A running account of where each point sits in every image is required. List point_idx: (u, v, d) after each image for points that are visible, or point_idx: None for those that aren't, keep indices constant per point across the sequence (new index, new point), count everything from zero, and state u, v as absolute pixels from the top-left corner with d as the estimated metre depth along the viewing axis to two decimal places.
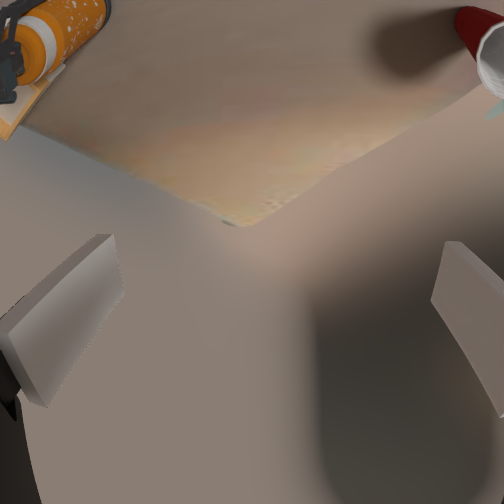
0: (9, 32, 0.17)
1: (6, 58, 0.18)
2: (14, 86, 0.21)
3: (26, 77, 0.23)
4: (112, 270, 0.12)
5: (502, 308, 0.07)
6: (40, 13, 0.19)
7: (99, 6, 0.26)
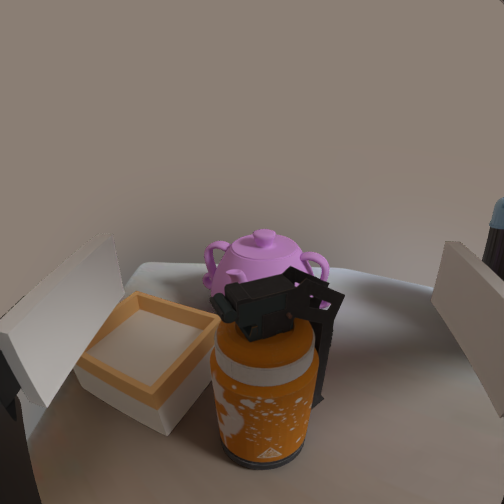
0: (313, 309, 0.24)
1: (287, 305, 0.23)
2: (241, 320, 0.22)
3: (241, 343, 0.22)
4: (112, 270, 0.12)
5: (502, 308, 0.07)
6: (316, 356, 0.25)
7: (294, 445, 0.26)
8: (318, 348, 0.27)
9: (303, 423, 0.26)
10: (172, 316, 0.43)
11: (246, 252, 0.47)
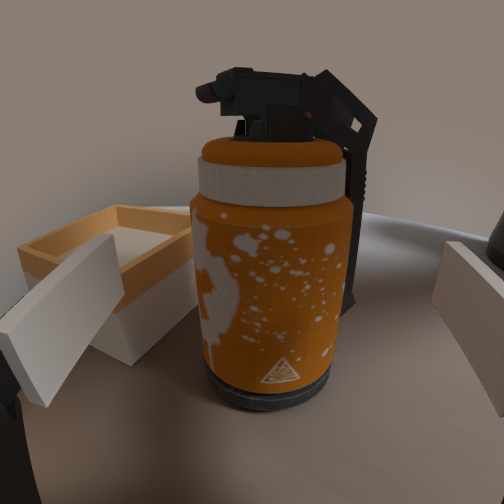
0: (339, 122, 0.16)
1: (303, 100, 0.15)
2: (239, 102, 0.14)
3: (238, 142, 0.14)
4: (112, 270, 0.12)
5: (502, 308, 0.07)
6: (348, 198, 0.17)
7: (319, 362, 0.18)
8: (348, 198, 0.19)
9: (334, 317, 0.18)
10: (155, 226, 0.35)
11: None
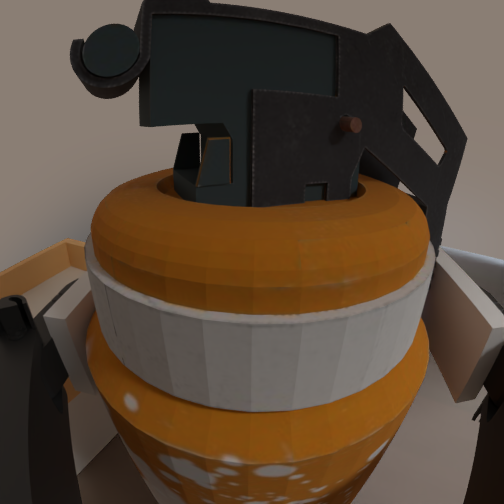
0: (411, 143, 0.07)
1: (340, 87, 0.06)
2: (162, 87, 0.05)
3: (158, 206, 0.05)
4: None
5: (455, 293, 0.08)
6: None
7: None
8: None
9: None
10: None
11: None
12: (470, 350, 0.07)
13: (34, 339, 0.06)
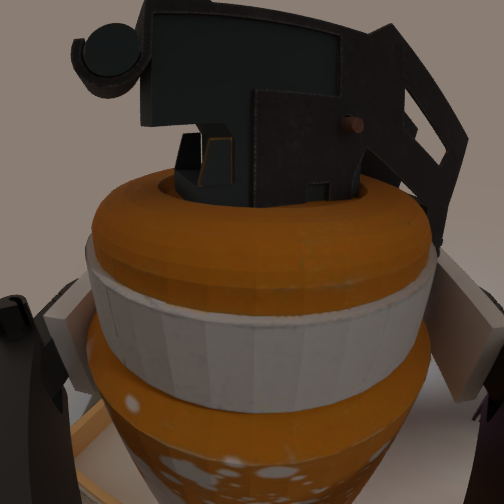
0: (413, 143, 0.07)
1: (342, 88, 0.06)
2: (163, 87, 0.04)
3: (160, 206, 0.05)
4: None
5: (455, 293, 0.08)
6: None
7: None
8: None
9: (359, 492, 0.08)
10: None
11: None
12: (470, 350, 0.07)
13: (34, 339, 0.06)
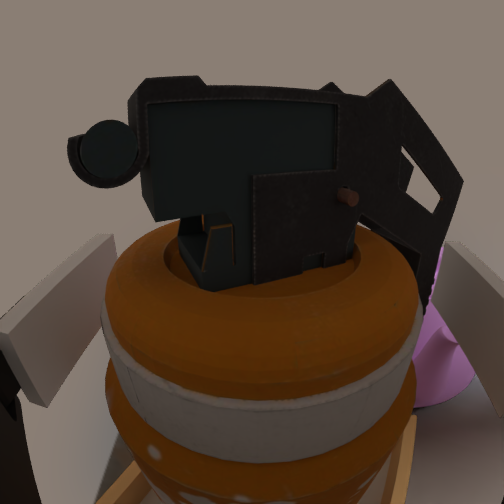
0: (407, 199, 0.07)
1: (339, 159, 0.06)
2: (164, 182, 0.05)
3: (169, 294, 0.06)
4: None
5: (502, 308, 0.07)
6: None
7: None
8: None
9: None
10: None
11: None
12: None
13: None
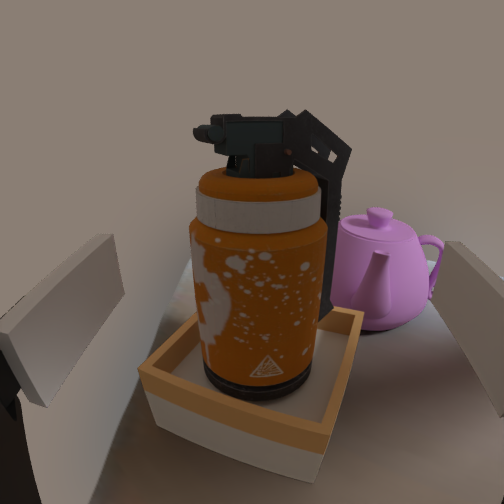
0: (316, 155, 0.20)
1: (284, 139, 0.19)
2: (229, 144, 0.17)
3: (228, 178, 0.18)
4: (112, 270, 0.12)
5: (502, 308, 0.07)
6: (323, 221, 0.21)
7: (299, 359, 0.22)
8: (325, 219, 0.22)
9: (311, 321, 0.21)
10: None
11: (365, 233, 0.37)
12: None
13: None
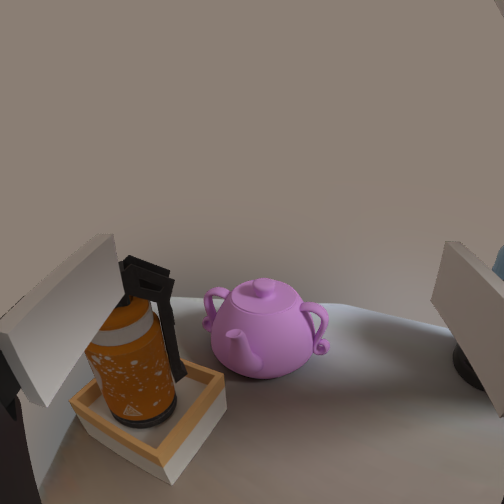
0: (145, 290, 0.30)
1: None
2: None
3: None
4: (112, 270, 0.12)
5: (502, 308, 0.07)
6: (155, 330, 0.31)
7: (152, 408, 0.32)
8: (162, 324, 0.32)
9: (153, 388, 0.31)
10: None
11: (246, 304, 0.47)
12: None
13: None
